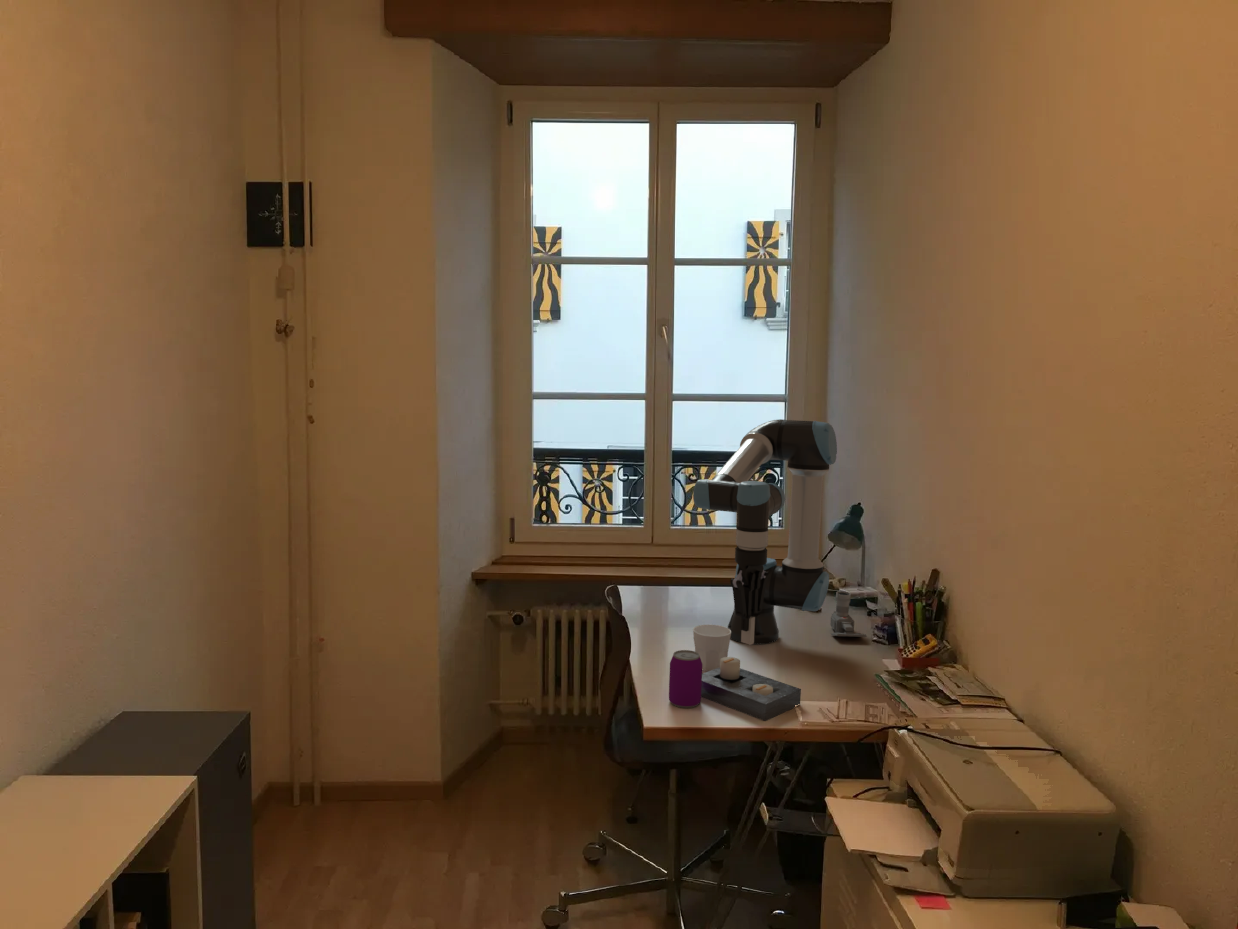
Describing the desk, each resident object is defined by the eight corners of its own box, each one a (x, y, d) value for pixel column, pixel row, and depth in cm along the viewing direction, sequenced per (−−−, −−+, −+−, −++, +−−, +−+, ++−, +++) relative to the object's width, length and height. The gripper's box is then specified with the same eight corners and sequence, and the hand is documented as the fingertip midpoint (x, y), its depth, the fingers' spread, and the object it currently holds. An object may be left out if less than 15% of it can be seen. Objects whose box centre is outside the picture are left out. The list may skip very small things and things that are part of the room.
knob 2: (759, 698, 211) (760, 681, 210) (776, 704, 207) (777, 687, 207) (747, 703, 207) (748, 686, 207) (764, 709, 204) (765, 692, 203)
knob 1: (728, 671, 217) (728, 654, 217) (743, 676, 214) (744, 659, 213) (715, 675, 214) (716, 659, 213) (731, 681, 211) (732, 664, 210)
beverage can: (664, 706, 205) (666, 657, 204) (674, 694, 212) (675, 647, 211) (695, 711, 203) (697, 662, 201) (704, 699, 210) (706, 651, 208)
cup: (690, 659, 238) (692, 624, 237) (727, 660, 238) (729, 625, 236) (692, 672, 228) (694, 635, 227) (731, 673, 228) (732, 637, 226)
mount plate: (727, 679, 224) (728, 664, 223) (800, 705, 208) (801, 689, 207) (691, 693, 214) (692, 677, 213) (764, 721, 198) (765, 704, 198)
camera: (854, 590, 268) (868, 605, 253) (852, 627, 270) (866, 644, 255) (826, 589, 268) (838, 604, 253) (824, 626, 270) (836, 643, 255)
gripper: (754, 540, 214) (750, 633, 217) (721, 548, 205) (718, 645, 208) (780, 545, 209) (775, 640, 212) (748, 554, 199) (744, 653, 203)
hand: (747, 642), depth 210 cm, fingers closed
